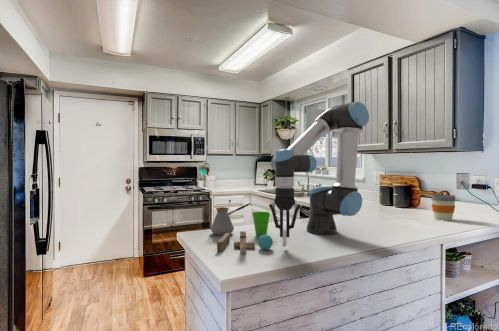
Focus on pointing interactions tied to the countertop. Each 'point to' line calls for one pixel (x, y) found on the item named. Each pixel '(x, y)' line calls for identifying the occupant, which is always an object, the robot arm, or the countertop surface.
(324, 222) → the robot arm
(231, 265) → the countertop surface
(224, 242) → the bar
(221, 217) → the coffee pot
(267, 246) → the ball
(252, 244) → the front pin
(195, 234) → the countertop surface
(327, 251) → the countertop surface
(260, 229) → the cup
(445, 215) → the reusable coffee cup
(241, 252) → the side pin
